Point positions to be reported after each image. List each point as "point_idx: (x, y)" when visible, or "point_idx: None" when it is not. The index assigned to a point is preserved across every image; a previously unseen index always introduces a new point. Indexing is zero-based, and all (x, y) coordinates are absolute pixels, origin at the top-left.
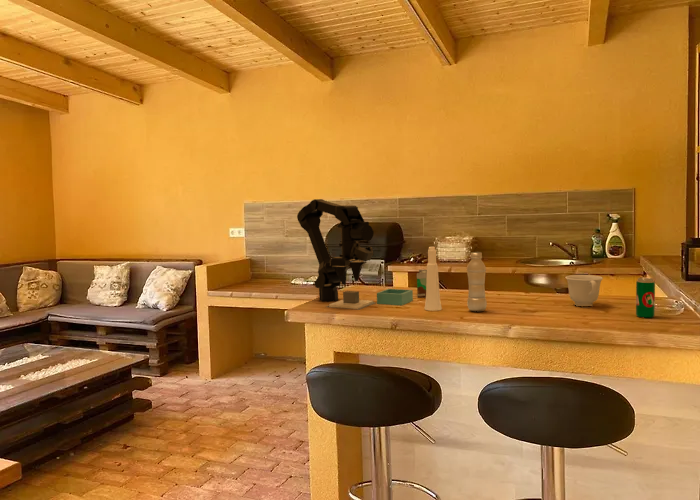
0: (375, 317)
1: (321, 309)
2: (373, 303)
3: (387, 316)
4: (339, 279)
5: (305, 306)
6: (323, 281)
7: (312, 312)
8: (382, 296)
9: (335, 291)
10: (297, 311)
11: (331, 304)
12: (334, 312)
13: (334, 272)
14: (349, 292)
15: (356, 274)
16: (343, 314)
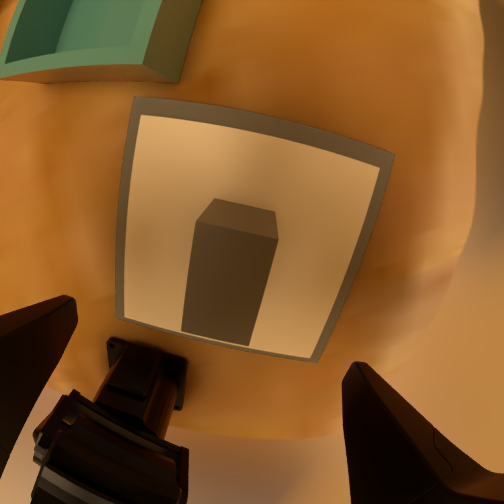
0: (473, 61)
1: (306, 368)
2: (169, 106)
3: (443, 7)
4: (86, 427)
5: (245, 426)
6: (185, 481)
7: None
8: (167, 23)
9: (132, 389)
10: None
11: (310, 346)
12: (382, 293)
13: (106, 492)
14: (263, 293)
15: (32, 351)
16: (431, 232)
